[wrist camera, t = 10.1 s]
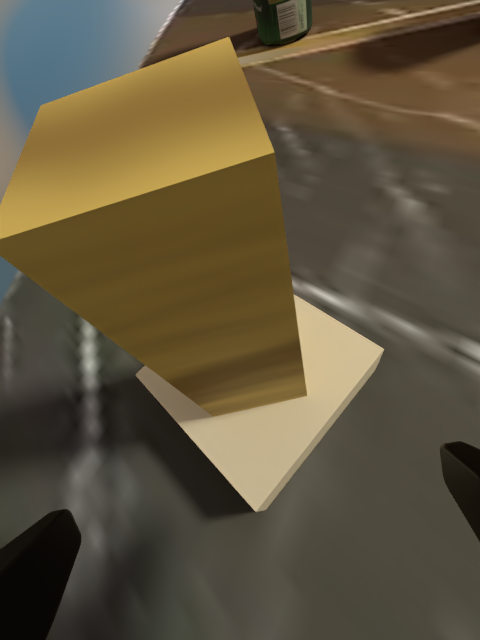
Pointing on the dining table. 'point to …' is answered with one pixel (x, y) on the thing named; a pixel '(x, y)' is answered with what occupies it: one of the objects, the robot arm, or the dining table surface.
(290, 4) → the coffee jar
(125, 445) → the dining table surface
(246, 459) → the plinth
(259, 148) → the pillar block
